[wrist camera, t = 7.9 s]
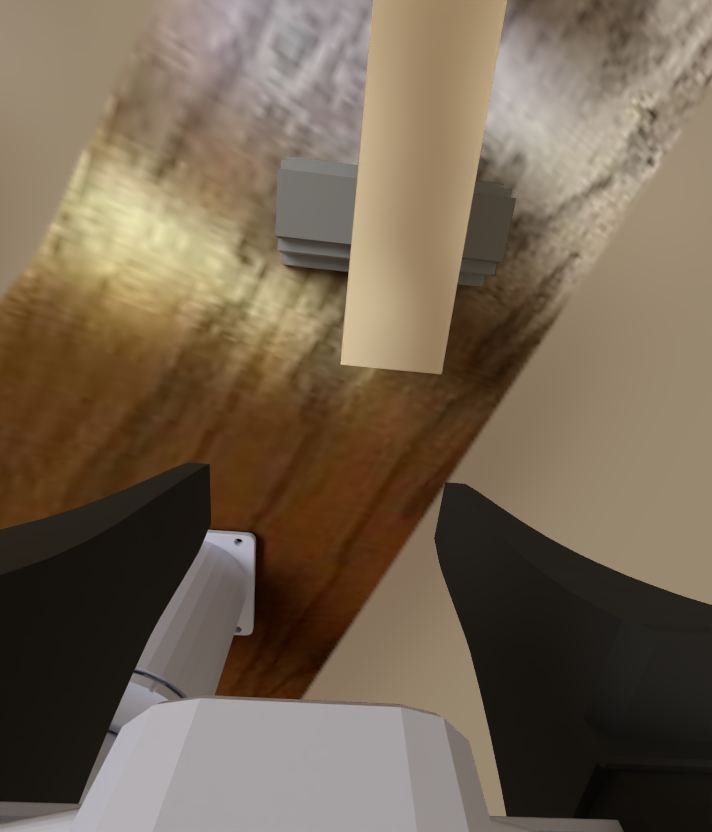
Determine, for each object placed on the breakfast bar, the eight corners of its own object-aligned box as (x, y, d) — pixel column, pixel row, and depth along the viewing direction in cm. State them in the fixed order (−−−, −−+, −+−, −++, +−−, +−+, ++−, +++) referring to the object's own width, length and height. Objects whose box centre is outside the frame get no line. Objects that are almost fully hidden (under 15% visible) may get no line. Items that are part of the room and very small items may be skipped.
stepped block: (284, 265, 19) (274, 260, 16) (288, 162, 18) (278, 139, 15) (477, 286, 19) (498, 285, 17) (496, 188, 18) (521, 171, 16)
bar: (341, 345, 18) (340, 364, 13) (368, 53, 14) (380, -69, 9) (415, 352, 18) (441, 374, 13) (458, 66, 14) (515, -47, 10)
